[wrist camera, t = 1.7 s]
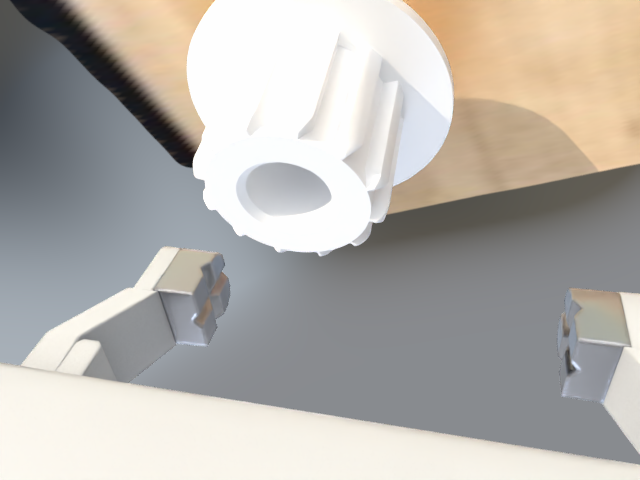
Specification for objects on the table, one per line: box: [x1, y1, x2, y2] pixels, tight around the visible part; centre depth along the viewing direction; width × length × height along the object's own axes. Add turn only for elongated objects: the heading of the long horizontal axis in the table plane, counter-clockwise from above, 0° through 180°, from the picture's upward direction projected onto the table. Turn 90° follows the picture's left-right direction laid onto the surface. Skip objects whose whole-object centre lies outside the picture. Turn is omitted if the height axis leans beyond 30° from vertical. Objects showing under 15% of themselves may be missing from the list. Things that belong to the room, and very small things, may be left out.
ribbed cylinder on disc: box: [187, 0, 454, 256], centre depth 54 cm, size 25×25×19 cm
